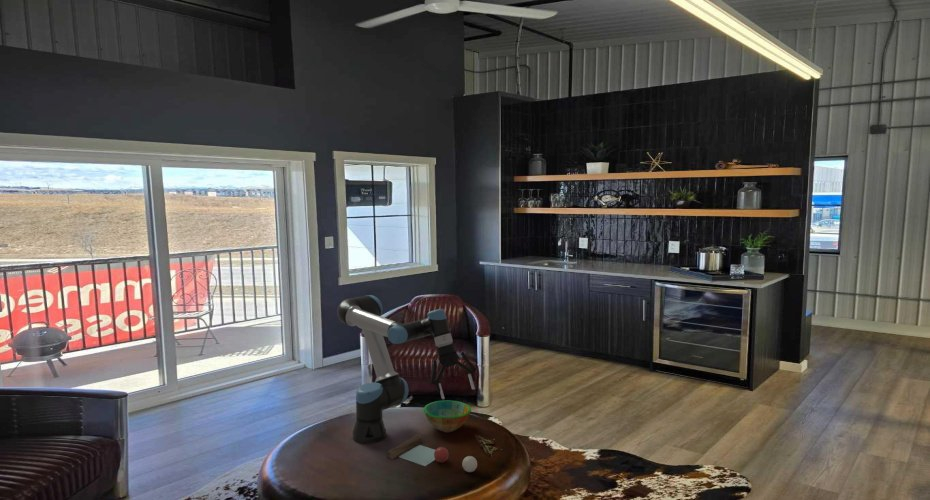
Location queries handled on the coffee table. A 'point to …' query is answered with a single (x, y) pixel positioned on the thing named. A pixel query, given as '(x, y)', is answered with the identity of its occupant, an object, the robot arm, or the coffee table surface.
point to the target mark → (419, 455)
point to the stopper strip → (404, 447)
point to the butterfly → (488, 448)
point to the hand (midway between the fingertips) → (458, 394)
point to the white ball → (469, 464)
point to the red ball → (441, 454)
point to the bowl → (447, 414)
